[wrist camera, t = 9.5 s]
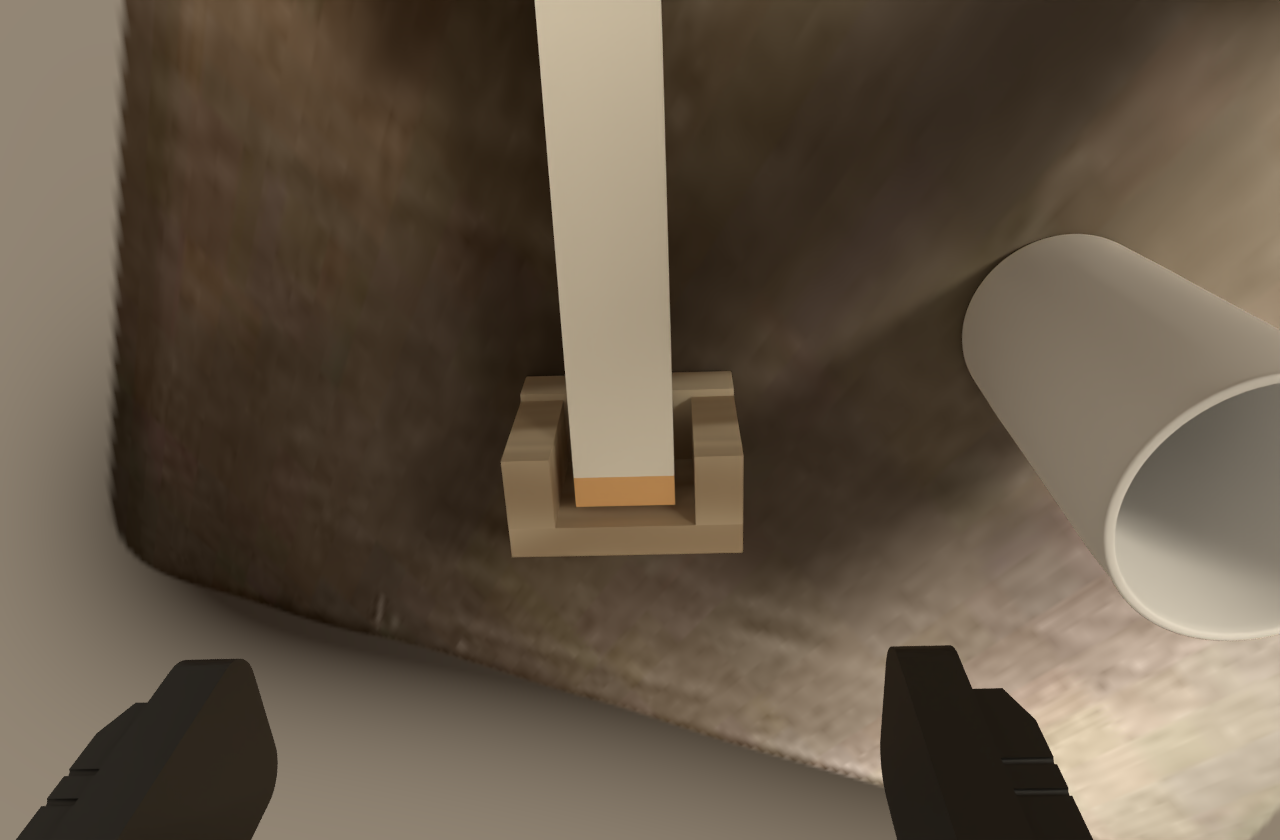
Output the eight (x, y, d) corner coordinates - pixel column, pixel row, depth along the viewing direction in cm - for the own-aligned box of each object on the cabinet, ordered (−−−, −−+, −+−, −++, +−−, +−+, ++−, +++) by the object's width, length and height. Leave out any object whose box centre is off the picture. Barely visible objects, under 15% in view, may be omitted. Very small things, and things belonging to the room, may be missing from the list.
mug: (932, 410, 32) (1068, 632, 21) (975, 216, 29) (1157, 359, 18) (1222, 430, 32) (1504, 661, 21) (1294, 239, 29) (1662, 394, 18)
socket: (526, 376, 32) (499, 454, 27) (731, 370, 32) (743, 448, 27) (535, 468, 34) (512, 558, 28) (730, 464, 33) (742, 553, 28)
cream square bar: (535, -179, 23) (517, -199, 20) (656, -186, 23) (655, -206, 20) (583, 460, 31) (576, 507, 28) (674, 458, 31) (675, 504, 28)
